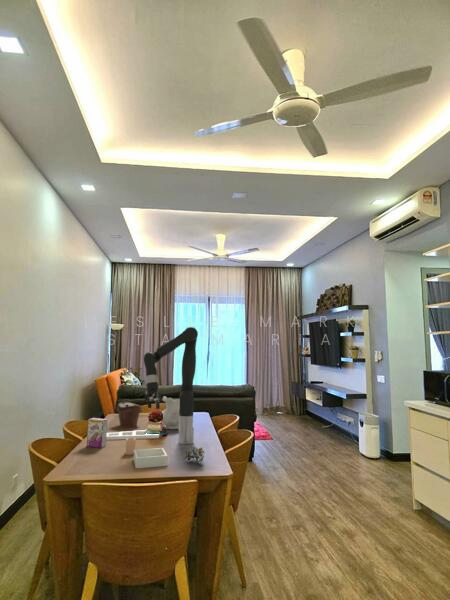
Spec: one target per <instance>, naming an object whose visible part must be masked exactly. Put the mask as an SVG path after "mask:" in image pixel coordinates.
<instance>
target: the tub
mask: <svg viewBox="0 0 450 600" xmlns="http://www.w3.org/2000/svg"><path fill="white" fill-rule="evenodd" d="M136 441H137V439H135V438H126V439H125V456H131V455H133V456H134V450H136Z"/></svg>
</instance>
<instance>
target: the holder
mask: <svg viewBox="0 0 450 600" xmlns="http://www.w3.org/2000/svg"><path fill="white" fill-rule="evenodd" d="M146 430H147V429H145V430H143V429H142V430H132V431H126V430H125V431H118V432H107V437H106V441H115V440H117V441H118V440H126V438H135V439H136V440H144V439H145V440H146V439H159V438H160V433H159V434H147V433H146V434H145V433H144V432H145V431H146Z"/></svg>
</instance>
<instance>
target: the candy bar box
mask: <svg viewBox="0 0 450 600" xmlns="http://www.w3.org/2000/svg"><path fill="white" fill-rule="evenodd" d="M107 433H108V419H107V418H98V417H92V418H89V419H87V437H86V447H90V448H99V449H102V448H106V446H107V440H106V437H107Z"/></svg>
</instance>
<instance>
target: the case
mask: <svg viewBox="0 0 450 600" xmlns="http://www.w3.org/2000/svg"><path fill="white" fill-rule="evenodd" d="M116 411H117V413H118V419H119V425H120V427H122V428H133V427H134V428H135V427H137V426H138V425H137V424H138V420H139V417H140V413H143V412H142V411H143V409H142V406H141V405H140V404H136V403H132V402H130V401H120V402H119V403H118V404H117V408H116Z"/></svg>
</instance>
